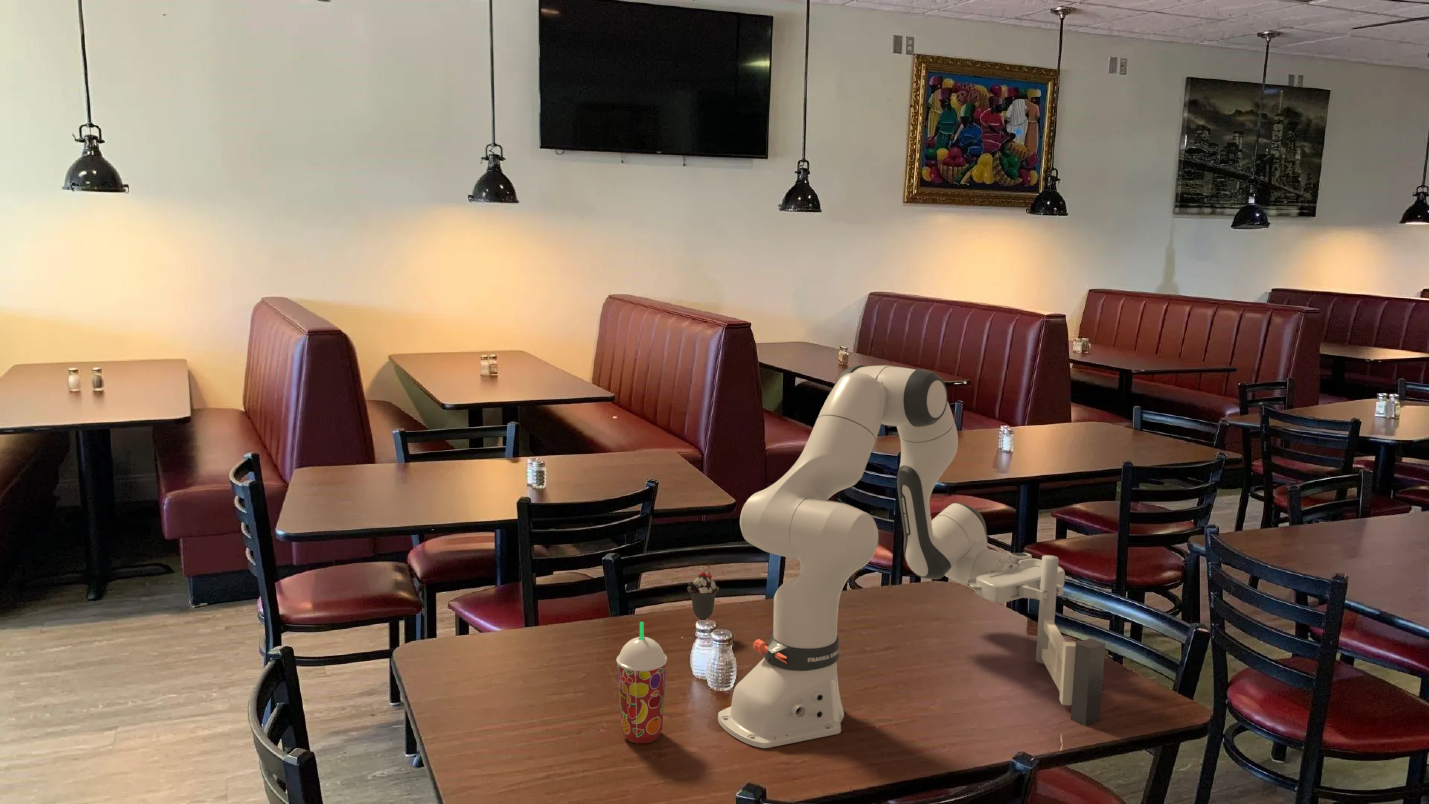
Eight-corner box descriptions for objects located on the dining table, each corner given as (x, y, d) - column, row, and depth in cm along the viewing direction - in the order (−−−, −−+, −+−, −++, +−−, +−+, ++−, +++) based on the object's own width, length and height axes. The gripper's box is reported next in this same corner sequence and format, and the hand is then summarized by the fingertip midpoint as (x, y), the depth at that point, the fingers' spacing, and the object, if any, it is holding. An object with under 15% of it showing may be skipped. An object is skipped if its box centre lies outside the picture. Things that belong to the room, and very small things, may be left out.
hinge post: (1085, 725, 180) (1090, 648, 178) (1070, 719, 182) (1075, 642, 180) (1099, 719, 182) (1105, 643, 180) (1085, 713, 184) (1090, 638, 182)
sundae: (720, 629, 222) (720, 561, 220) (717, 641, 216) (717, 571, 213) (689, 627, 223) (689, 560, 220) (685, 639, 216) (685, 570, 214)
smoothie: (620, 724, 179) (619, 613, 176) (668, 725, 179) (668, 613, 176) (614, 747, 171) (613, 631, 168) (664, 749, 171) (665, 632, 167)
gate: (1076, 705, 185) (1084, 592, 182) (1059, 704, 186) (1066, 591, 182) (1050, 658, 206) (1056, 555, 203) (1034, 657, 206) (1040, 555, 203)
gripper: (962, 567, 207) (1017, 588, 195) (1031, 551, 218) (1087, 569, 207) (961, 598, 208) (1015, 620, 196) (1029, 580, 219) (1085, 599, 208)
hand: (1053, 593), depth 202 cm, fingers open, 3 cm apart
